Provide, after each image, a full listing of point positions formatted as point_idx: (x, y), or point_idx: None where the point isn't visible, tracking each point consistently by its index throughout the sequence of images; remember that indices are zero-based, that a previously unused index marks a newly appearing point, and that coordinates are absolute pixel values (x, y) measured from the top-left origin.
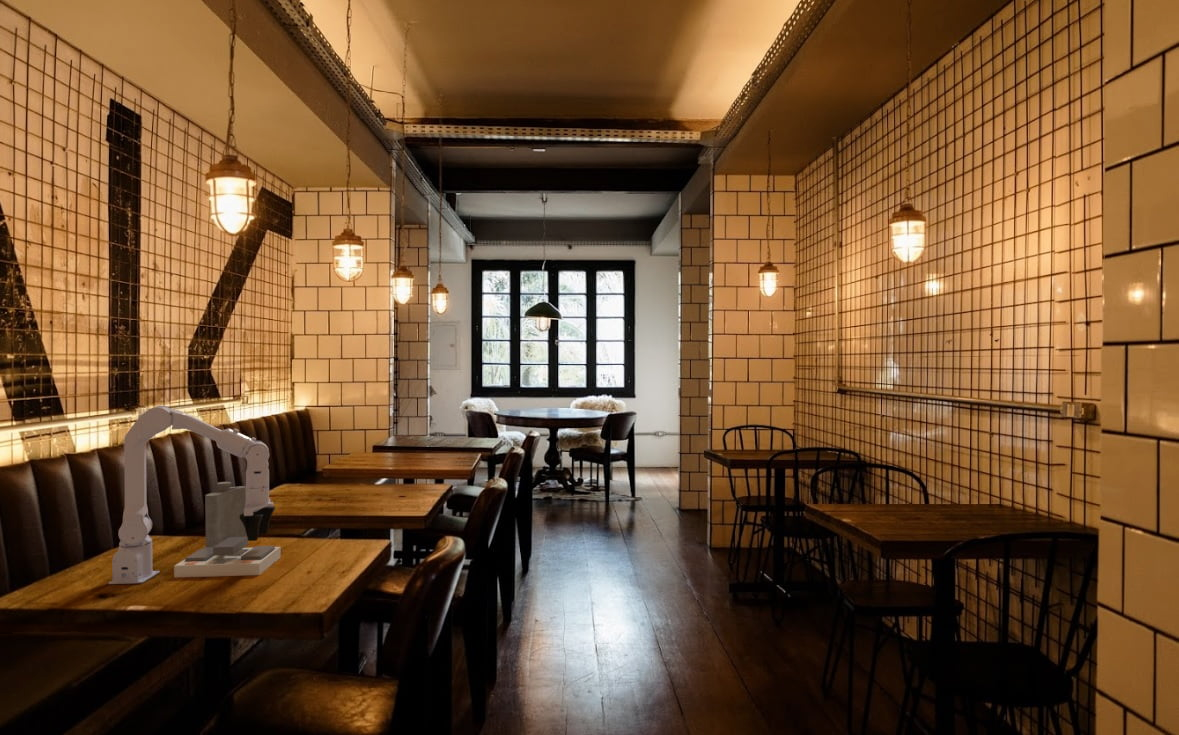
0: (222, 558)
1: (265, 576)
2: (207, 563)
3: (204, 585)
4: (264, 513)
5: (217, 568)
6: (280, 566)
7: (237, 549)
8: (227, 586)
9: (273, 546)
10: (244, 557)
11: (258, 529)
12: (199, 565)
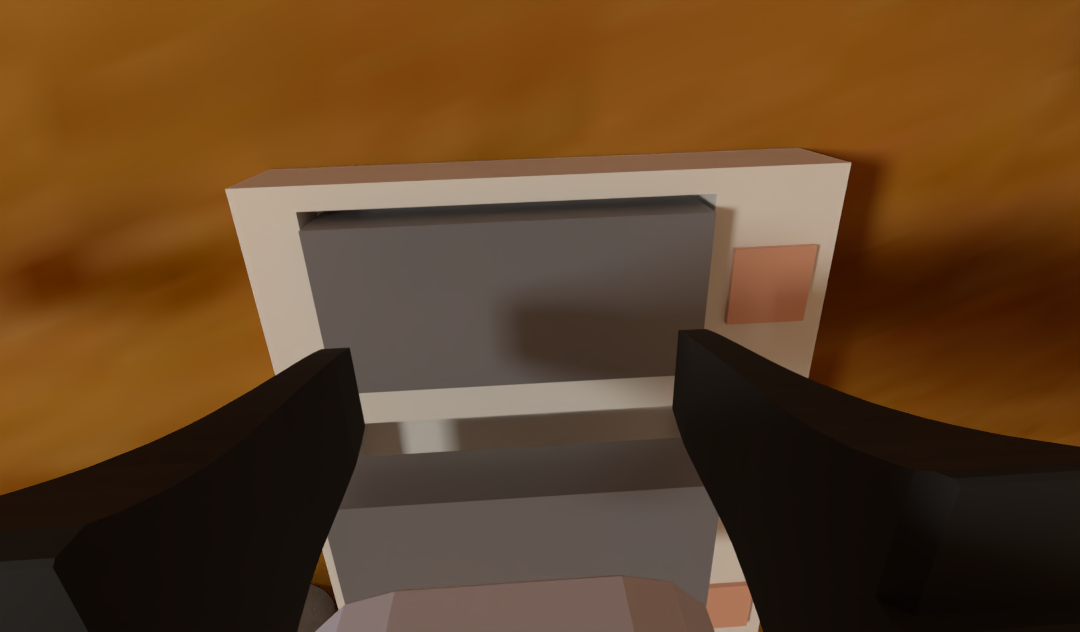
0: None
1: (852, 80)
2: None
3: (940, 403)
4: (219, 596)
5: None
6: (560, 59)
7: (603, 456)
8: (1022, 264)
9: (330, 229)
10: None
11: (766, 376)
12: None
